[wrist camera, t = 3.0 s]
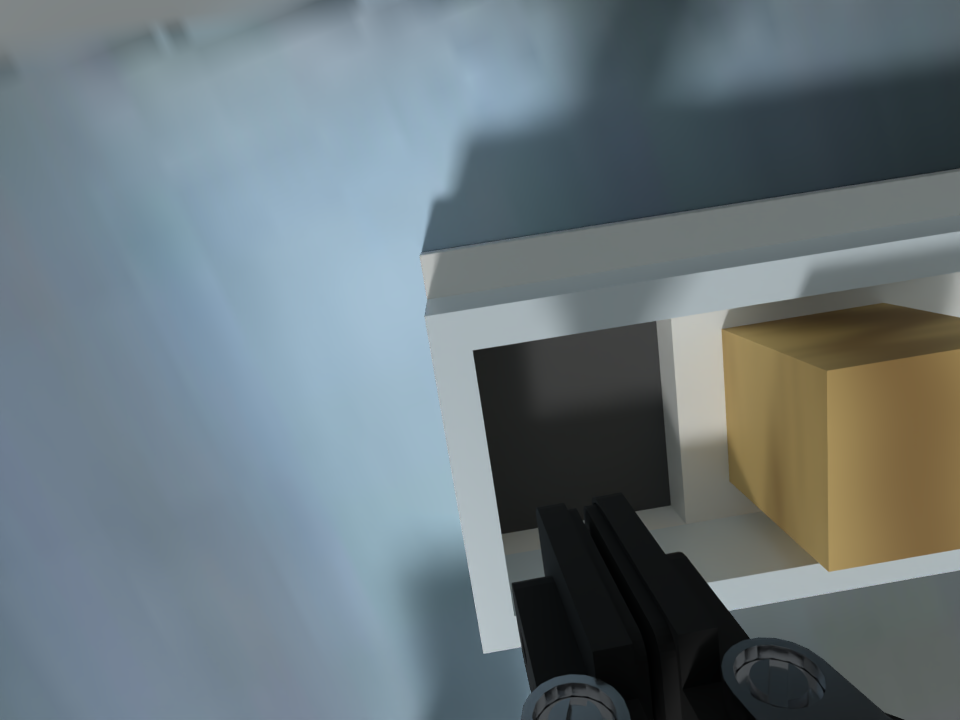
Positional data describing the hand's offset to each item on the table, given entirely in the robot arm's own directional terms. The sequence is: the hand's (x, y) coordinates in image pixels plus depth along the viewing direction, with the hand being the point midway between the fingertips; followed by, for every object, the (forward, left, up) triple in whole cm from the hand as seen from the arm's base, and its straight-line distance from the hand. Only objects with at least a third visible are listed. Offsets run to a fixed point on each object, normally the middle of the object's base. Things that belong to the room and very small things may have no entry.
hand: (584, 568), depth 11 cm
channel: (-10, 0, -9) cm, 13 cm away
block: (-9, 0, -7) cm, 11 cm away
